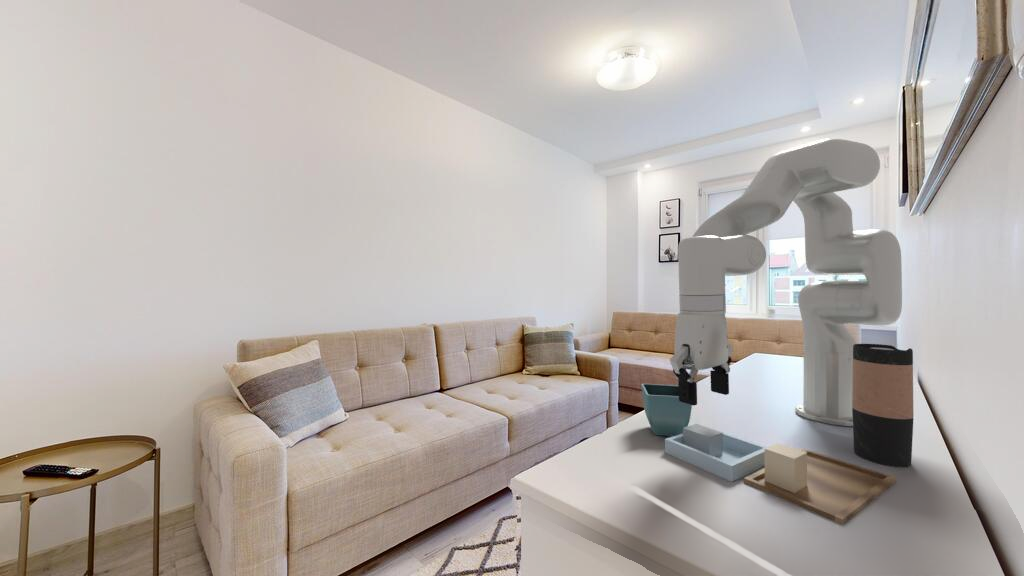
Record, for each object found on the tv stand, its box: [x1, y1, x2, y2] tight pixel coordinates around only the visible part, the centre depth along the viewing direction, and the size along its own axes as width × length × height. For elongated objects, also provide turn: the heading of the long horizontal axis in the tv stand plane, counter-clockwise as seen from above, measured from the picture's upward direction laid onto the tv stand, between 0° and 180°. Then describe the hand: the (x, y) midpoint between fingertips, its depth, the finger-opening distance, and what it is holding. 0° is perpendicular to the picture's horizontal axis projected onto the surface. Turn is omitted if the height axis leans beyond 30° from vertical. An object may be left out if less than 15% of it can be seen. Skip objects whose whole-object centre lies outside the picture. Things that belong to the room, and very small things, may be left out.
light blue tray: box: [664, 429, 767, 483], centre depth 66 cm, size 12×12×3 cm
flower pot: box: [640, 383, 693, 437], centre depth 79 cm, size 9×9×9 cm
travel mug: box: [852, 343, 915, 469], centre depth 66 cm, size 8×8×20 cm
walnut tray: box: [743, 448, 897, 525], centre depth 58 cm, size 20×12×1 cm, turn 121°
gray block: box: [683, 423, 724, 457], centre depth 68 cm, size 4×4×5 cm
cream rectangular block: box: [764, 442, 807, 493], centre depth 58 cm, size 4×4×5 cm
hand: (704, 397), depth 69 cm, fingers open, 9 cm apart
